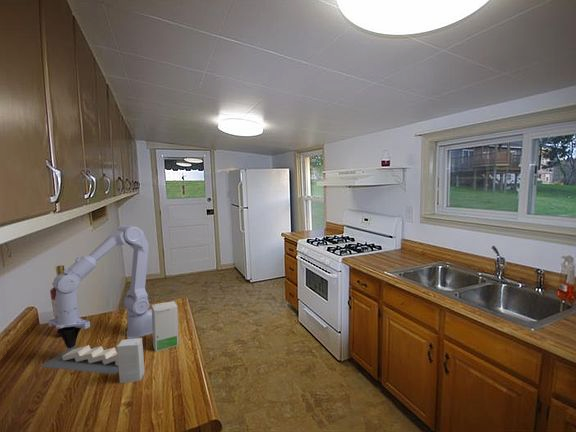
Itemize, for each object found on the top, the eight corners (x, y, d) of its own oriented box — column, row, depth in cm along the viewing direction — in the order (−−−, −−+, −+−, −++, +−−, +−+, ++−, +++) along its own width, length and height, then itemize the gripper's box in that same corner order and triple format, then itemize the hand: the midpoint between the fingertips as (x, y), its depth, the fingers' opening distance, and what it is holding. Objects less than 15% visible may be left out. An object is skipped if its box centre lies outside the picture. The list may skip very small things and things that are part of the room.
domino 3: (87, 359, 97) (104, 354, 96) (98, 351, 101) (114, 347, 100) (89, 363, 97) (106, 359, 96) (99, 355, 101) (116, 351, 100)
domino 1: (61, 356, 99) (78, 351, 97) (73, 349, 103) (89, 344, 102) (63, 360, 99) (79, 356, 97) (74, 353, 103) (90, 349, 102)
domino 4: (101, 360, 96) (118, 354, 95) (112, 353, 100) (128, 346, 99) (104, 365, 96) (120, 358, 95) (114, 357, 100) (130, 351, 99)
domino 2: (74, 357, 98) (91, 353, 97) (85, 350, 102) (101, 345, 101) (76, 362, 98) (92, 357, 97) (87, 354, 102) (103, 350, 101)
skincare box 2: (155, 353, 104) (152, 311, 102) (152, 344, 109) (150, 304, 108) (179, 346, 108) (177, 305, 107) (176, 338, 114) (174, 299, 112)
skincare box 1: (145, 373, 92) (142, 337, 91) (140, 382, 88) (138, 344, 87) (124, 375, 91) (121, 339, 90) (119, 384, 87) (116, 346, 86)
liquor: (52, 340, 114) (46, 269, 111) (56, 332, 120) (49, 265, 117) (75, 335, 117) (69, 267, 114) (78, 327, 124) (72, 263, 121)
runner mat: (39, 367, 96) (39, 366, 96) (72, 347, 108) (72, 346, 108) (114, 375, 91) (114, 374, 91) (140, 354, 103) (140, 353, 103)
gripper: (38, 312, 96) (42, 351, 98) (75, 315, 94) (79, 355, 95) (58, 303, 103) (61, 340, 105) (93, 306, 101) (96, 343, 102)
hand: (71, 346), depth 100 cm, fingers closed
